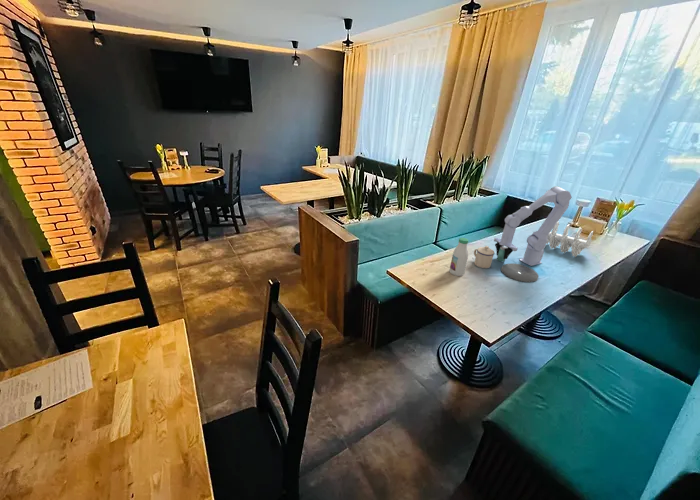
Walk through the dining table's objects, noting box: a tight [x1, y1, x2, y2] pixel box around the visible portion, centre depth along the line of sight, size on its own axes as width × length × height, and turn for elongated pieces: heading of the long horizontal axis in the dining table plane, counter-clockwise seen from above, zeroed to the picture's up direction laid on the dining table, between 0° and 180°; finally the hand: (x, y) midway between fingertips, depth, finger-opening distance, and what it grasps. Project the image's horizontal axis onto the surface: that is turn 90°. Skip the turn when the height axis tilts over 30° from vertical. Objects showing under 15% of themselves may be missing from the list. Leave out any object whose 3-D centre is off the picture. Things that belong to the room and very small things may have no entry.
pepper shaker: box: [496, 246, 508, 263], centre depth 171 cm, size 4×4×8 cm
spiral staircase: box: [546, 221, 594, 258], centre depth 181 cm, size 18×18×25 cm
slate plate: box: [500, 263, 539, 283], centre depth 159 cm, size 18×18×1 cm
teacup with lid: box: [473, 245, 495, 269], centre depth 165 cm, size 12×9×12 cm
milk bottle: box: [448, 237, 469, 277], centre depth 154 cm, size 8×8×20 cm
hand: (501, 256), depth 172 cm, fingers closed on pepper shaker, 4 cm apart
